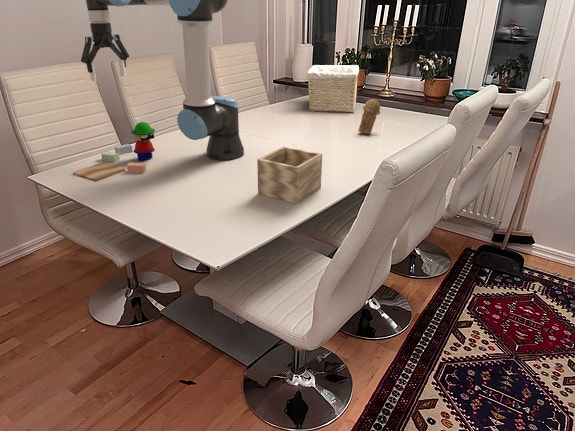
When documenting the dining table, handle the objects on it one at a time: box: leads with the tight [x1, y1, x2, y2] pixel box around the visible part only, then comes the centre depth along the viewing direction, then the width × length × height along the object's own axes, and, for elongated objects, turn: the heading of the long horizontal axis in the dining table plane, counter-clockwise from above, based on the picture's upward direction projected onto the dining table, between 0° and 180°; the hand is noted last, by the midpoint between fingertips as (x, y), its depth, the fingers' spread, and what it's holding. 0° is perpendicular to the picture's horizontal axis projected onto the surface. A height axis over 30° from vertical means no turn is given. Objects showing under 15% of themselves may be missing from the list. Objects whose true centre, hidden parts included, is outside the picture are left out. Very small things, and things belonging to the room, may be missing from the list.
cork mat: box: [72, 161, 127, 182], centre depth 175 cm, size 13×13×1 cm
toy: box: [130, 121, 156, 162], centre depth 184 cm, size 9×9×15 cm
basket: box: [307, 64, 360, 113], centre depth 264 cm, size 27×27×22 cm
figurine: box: [357, 98, 381, 135], centre depth 219 cm, size 8×8×15 cm
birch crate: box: [256, 146, 323, 205], centre depth 158 cm, size 15×16×12 cm
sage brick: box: [101, 151, 121, 163], centre depth 186 cm, size 6×3×3 cm, turn 68°
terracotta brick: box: [126, 162, 148, 174], centre depth 175 cm, size 6×3×3 cm, turn 87°
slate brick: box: [114, 143, 134, 156], centre depth 194 cm, size 6×3×3 cm, turn 133°
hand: (109, 78), depth 194 cm, fingers open, 13 cm apart
